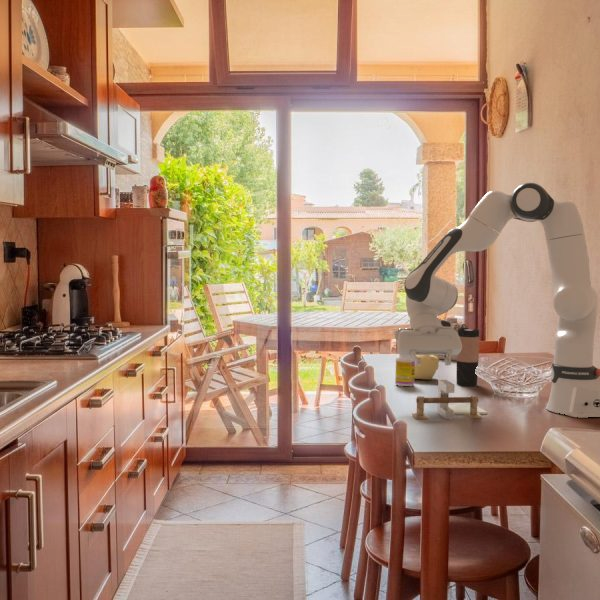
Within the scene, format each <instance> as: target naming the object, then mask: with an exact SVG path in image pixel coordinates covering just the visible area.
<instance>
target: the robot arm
mask: <svg viewBox="0 0 600 600" xmlns="http://www.w3.org/2000/svg"><path fill="white" fill-rule="evenodd" d="M513 219H514V220H519V221H523V222H527V223H534V222H537V221H538V222H539V223H540V224H541V225H542V227H543V230H544V236H545V240H546V241H545V243H546V249H547V253H548V260H549V267H550V280H551V282H550V285H551V294H552V295H551V296H552V303H553V304H552V305H553V308H554V310H555V312H556V314H557V315H558V316H557V323H556V329H555V336H554V350H553V351H554V354H553V363H552V366H551V371H550V373H551V374H550V375H551V376H550V377H551V389H550V394H549V397H548V401H547V404H546V407H545V409H546V410H548V411H550V412H552V413H556V414H559V413H560V414H561V415H564V414H565V415H566V416H569V417H573V418H577V417H578V419H579V418H581V419H584V418H587V419H588V417H600V378H599V377H600V368H597V367H596V366H594V365H593V363H594V362H593V361H594V345H595V344H594V341H595V332H596V323H597V315H598V302H599V298H598V294H597V292H596V290H595V288H594V287H593V286H592V284H591V282H592V281H591V274H590V273H591V272H590V259H589V253H588V247H587V241H586V234H585V230H584V226H583V222H582V218H581V215H580V212H579V210H578V207H577V205H576V204H575V203H574V202H572V201H568V200H558V201H555V200H554V198H552V196H551V195H550V194H549V193H548V192H547V190H546V189H544V187H542V186H541V185H540V184H538V183H535V182H526V183H525V182H524V183H522V184H520V185H518V186H517V187H516V188H515V189H514V190H513V192H512V193H511V194H507V193H505V192H503V191H499V190H490V191H488V192H487V193H486V194H484V196H483V197H481V199H480V200H479V201H478V203H476V205H475V207H473V209H472V211H471V212H470V213H469V215H468V217H467V218H466V219H465V220H464V221H463V222H462V223H461V224H460V225H459V226H458V227H455V228H452V229H449V230H448V231H447V232H446V233H445V234H444V235H443V236H442V237H441V239H440V240H439V241H438V242H437V243H436V245H434V247H433V248H432V249H431V250H430V252H429V253H428V254H427V255H426V257H424V258H423V260H422V261H421V263H419V265H417V267H416V268H414V269H413V270H412V271H411V272H410V273H408V275H407V276H406V278H405V280H404V292H405V294H406V296H405V305H406V306H405V307H406V311H407V315H408V318H409V325H410V328H398V329H396V330H395V331H394V333H393V334H394V338H395V340H396V348H397V349H396V350H397V354H400V355H410V358H411V359H412V360H413V361H415V365H416V366H417V365H421V358H418V357H417V356H416V355H446V357H448V358H445V360H444V365H445V366H451V365H452V360H451V359H450V358H451V356H452V355H458V354H459V353H460V352H461V350H462V343H461V340H460V337H459V335H458V333H457V332H456V331H455V330H453V329H454V324H453V323H452V322H448V321H446V320H444V319H440V318H439V317H440V316H441V315H444V314H445V313H447V312H449V311H450V310H452V308H454V306H455V305H456V303H457V301H458V296H459V292H458V288H457V286H456V285H455V284H453V283H452V282H449V281H447V280H445V279H443V278H440V276H439V277H438V276H436V274H437V273H438V271H439V270H440V268H441V267H443V265H444V264H445V262H447V261H448V259H449V258H450V257H451V256H453V255H454V254H456V253H459V252H482V251H485V250H487V249H490V247H491V246H493V244H494V243H495V242H496V241H497V239H498V238H499V236H500V234H501V233H502V231H503V229H504V228H505V226H506V225H507V224H508V223H509V221H511V220H513ZM438 316H439V317H438ZM560 414H559V415H560Z"/></svg>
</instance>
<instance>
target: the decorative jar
mask: <svg viewBox="0 0 600 600" xmlns="http://www.w3.org/2000/svg"><path fill="white" fill-rule="evenodd" d="M445 321H448V322H452V323H453V324H454V329H453V330H455V331H456V332H457V333H458V329H459V328H468V326H467V324H466V322H462V321H458V317H454V316H453V317H451V316H450V317H446V320H445ZM434 356H436V357H437V358H438V359H439V360H444V361H445V358H448V357H446V355H434ZM450 359H451V361H454V362H455V361H456V362H457V355H452V356H451V358H450Z"/></svg>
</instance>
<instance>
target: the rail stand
mask: <svg viewBox="0 0 600 600" xmlns="http://www.w3.org/2000/svg"><path fill="white" fill-rule="evenodd" d="M415 401H416V413H413V412H412V414H411V415H412V417H413V419H414V420H428V419H429V415H427V414H426V413H425V412H424V411H425V409H424V408H425V407H424V406H425V404H438V403H448V404H461V403H462V404H463V403H465V404H469V405H470V413H465V414H464V416H466V417H467V418H468V419H482V417H483V414H479V413H477V406H478V403H479V397H478V396H477V395H471V396H464V397H463V396H460V397H459V396H458V397H457V396H455V397H454V396H452V397H451V396H450V397H449V396H448V397H438V396H437V397H425V396H421V395H420V396H417V397H416V398H415Z"/></svg>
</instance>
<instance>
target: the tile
mask: <svg viewBox="0 0 600 600" xmlns="http://www.w3.org/2000/svg"><path fill="white" fill-rule="evenodd" d="M448 407H449V408H451V409H452V410H453V411H454V415H457V416H458V415H465V413H470V404H448ZM477 413H479V414H480V415H488V411H486V410H485V409H483V408H482V407H481V406H480V407H479V406H478V405H477Z"/></svg>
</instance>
